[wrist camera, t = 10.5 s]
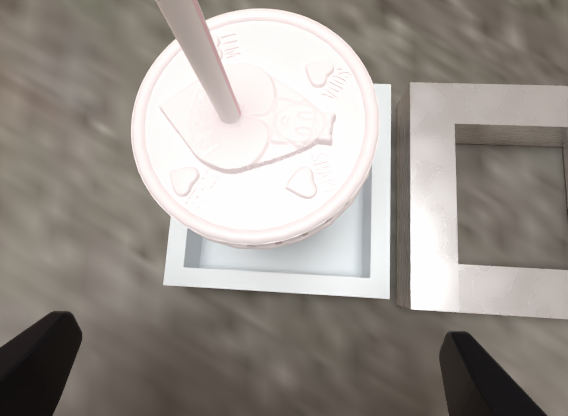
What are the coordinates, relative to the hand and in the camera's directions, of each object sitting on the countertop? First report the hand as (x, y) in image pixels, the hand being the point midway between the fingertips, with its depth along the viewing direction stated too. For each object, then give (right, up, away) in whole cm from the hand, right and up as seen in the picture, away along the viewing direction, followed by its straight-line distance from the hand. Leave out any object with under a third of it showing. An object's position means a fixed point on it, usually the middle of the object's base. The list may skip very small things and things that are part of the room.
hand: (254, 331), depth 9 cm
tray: (+1, +4, +10) cm, 11 cm away
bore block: (+12, +3, +10) cm, 16 cm away
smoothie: (0, +3, +10) cm, 11 cm away
